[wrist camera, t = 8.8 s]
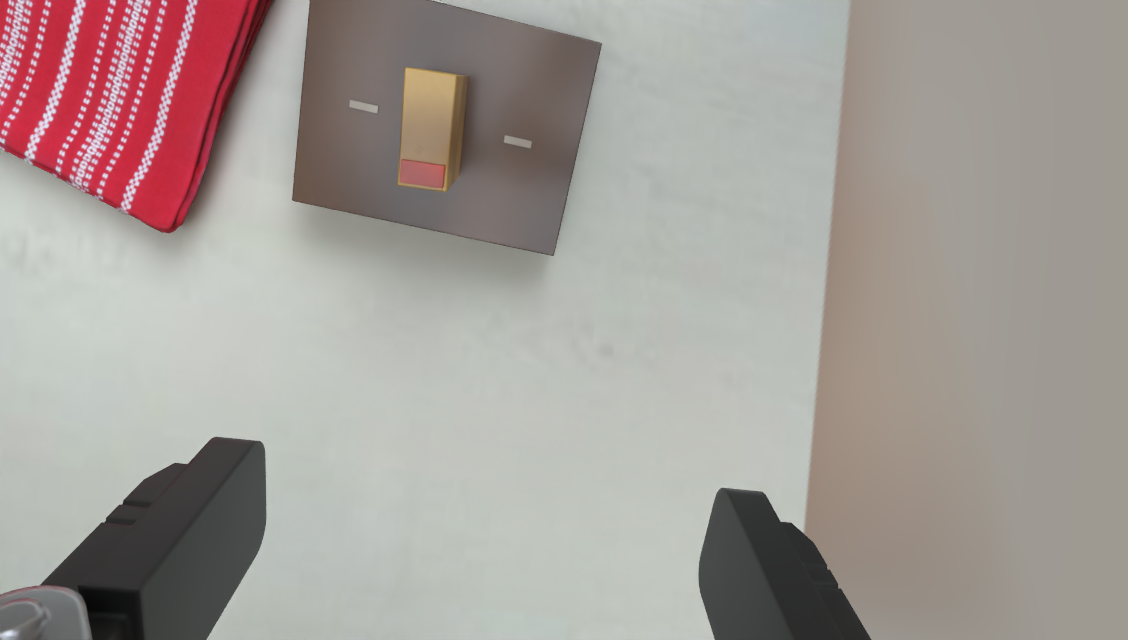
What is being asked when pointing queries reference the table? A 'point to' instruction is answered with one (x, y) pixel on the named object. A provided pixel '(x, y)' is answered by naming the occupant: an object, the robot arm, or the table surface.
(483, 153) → the lock plate
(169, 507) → the robot arm
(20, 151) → the dish towel
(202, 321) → the table surface
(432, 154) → the yellow milk carton
